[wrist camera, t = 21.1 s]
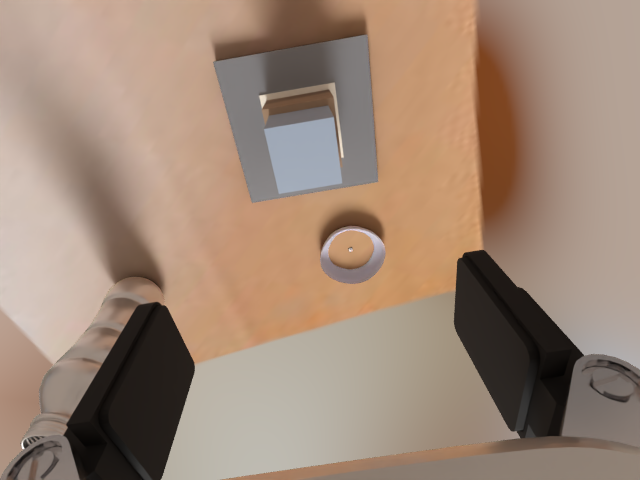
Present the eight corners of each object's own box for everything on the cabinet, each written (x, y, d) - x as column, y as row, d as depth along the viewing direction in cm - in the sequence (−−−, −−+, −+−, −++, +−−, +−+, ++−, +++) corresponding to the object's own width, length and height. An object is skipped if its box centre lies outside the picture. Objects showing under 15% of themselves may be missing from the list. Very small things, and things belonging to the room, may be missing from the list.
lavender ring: (309, 235, 43) (309, 243, 41) (370, 211, 41) (373, 218, 40) (332, 283, 46) (334, 292, 45) (390, 262, 45) (393, 270, 44)
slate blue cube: (268, 115, 29) (264, 129, 25) (328, 105, 29) (333, 117, 25) (281, 172, 32) (278, 194, 27) (336, 163, 31) (342, 183, 27)
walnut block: (266, 100, 33) (261, 109, 29) (328, 89, 33) (333, 97, 29) (279, 161, 36) (277, 178, 32) (337, 151, 36) (342, 167, 32)
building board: (215, 61, 32) (212, 61, 31) (365, 34, 32) (367, 34, 31) (253, 198, 39) (251, 203, 38) (375, 178, 39) (378, 182, 38)
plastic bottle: (136, 316, 47) (41, 478, 30) (104, 278, 44) (-23, 435, 26) (179, 302, 46) (108, 460, 29) (150, 262, 43) (50, 414, 26)
